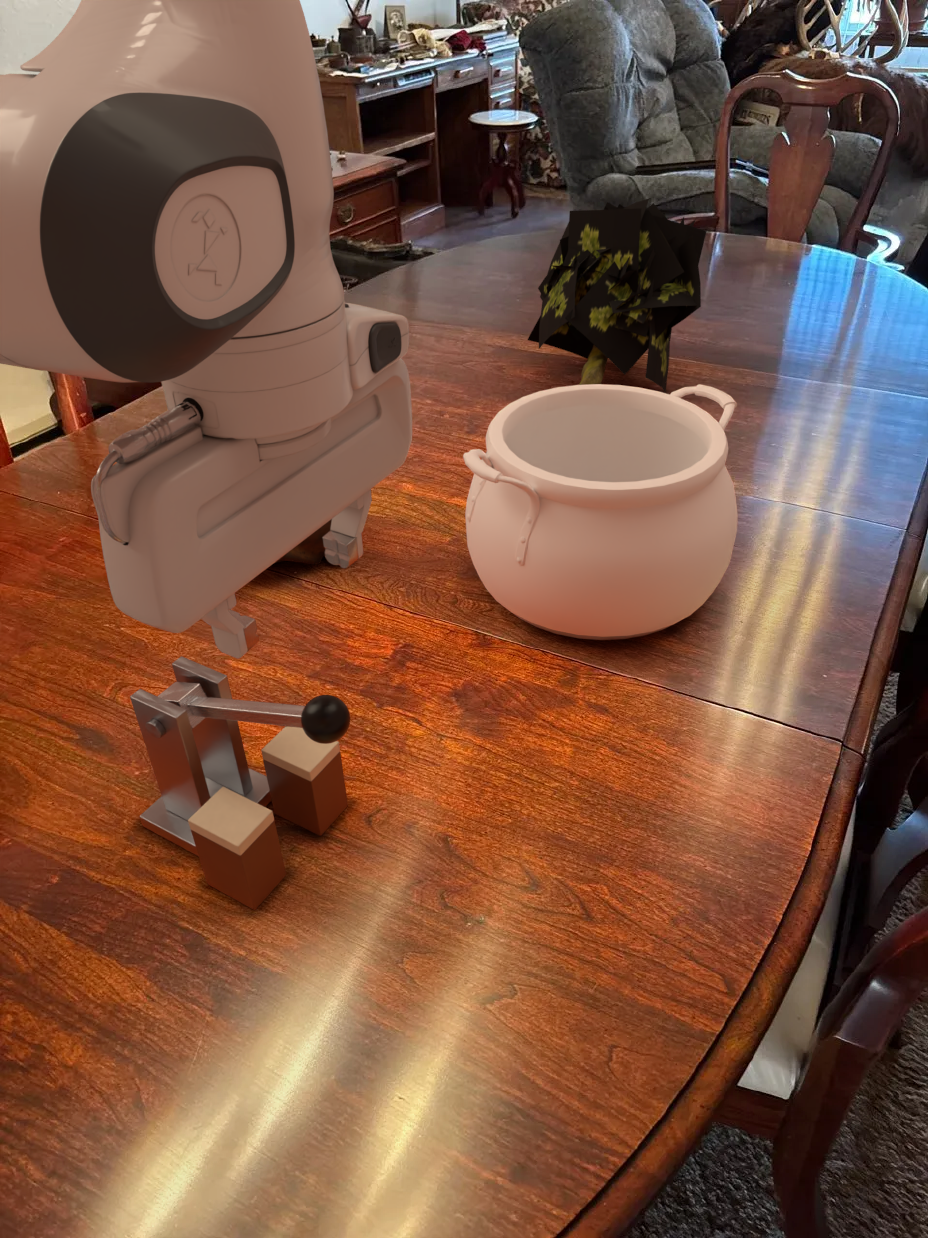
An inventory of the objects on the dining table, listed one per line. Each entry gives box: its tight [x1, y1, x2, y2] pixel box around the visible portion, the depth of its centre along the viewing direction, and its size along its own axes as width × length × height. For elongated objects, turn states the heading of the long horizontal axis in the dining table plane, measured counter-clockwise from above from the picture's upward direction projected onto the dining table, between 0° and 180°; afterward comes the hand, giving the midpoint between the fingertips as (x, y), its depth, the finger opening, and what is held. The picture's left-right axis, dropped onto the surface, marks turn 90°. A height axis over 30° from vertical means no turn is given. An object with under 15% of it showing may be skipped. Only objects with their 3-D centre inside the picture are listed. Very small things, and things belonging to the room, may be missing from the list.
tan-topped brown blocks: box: [188, 726, 349, 911], centre depth 67 cm, size 11×4×7 cm, turn 149°
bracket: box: [129, 655, 272, 858], centre depth 68 cm, size 7×8×13 cm
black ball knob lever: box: [156, 681, 351, 744], centre depth 61 cm, size 17×3×3 cm, turn 59°
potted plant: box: [527, 197, 708, 394], centre depth 129 cm, size 21×22×30 cm
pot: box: [462, 383, 739, 641], centre depth 90 cm, size 29×26×17 cm
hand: (295, 601), depth 52 cm, fingers open, 8 cm apart
